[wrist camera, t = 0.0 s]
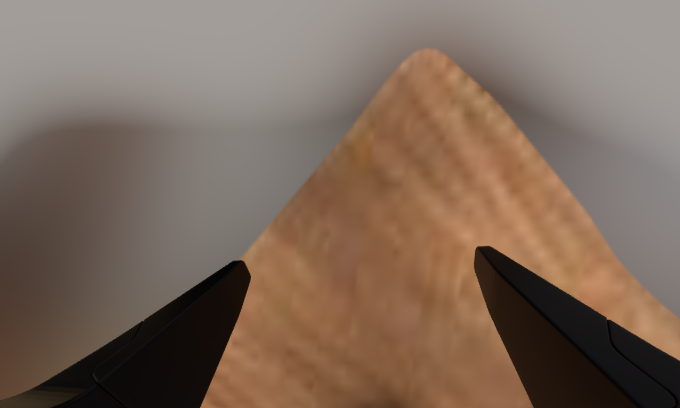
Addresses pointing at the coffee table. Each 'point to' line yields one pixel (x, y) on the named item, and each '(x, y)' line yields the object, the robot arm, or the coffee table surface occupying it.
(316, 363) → the coffee table surface
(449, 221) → the coffee table surface
